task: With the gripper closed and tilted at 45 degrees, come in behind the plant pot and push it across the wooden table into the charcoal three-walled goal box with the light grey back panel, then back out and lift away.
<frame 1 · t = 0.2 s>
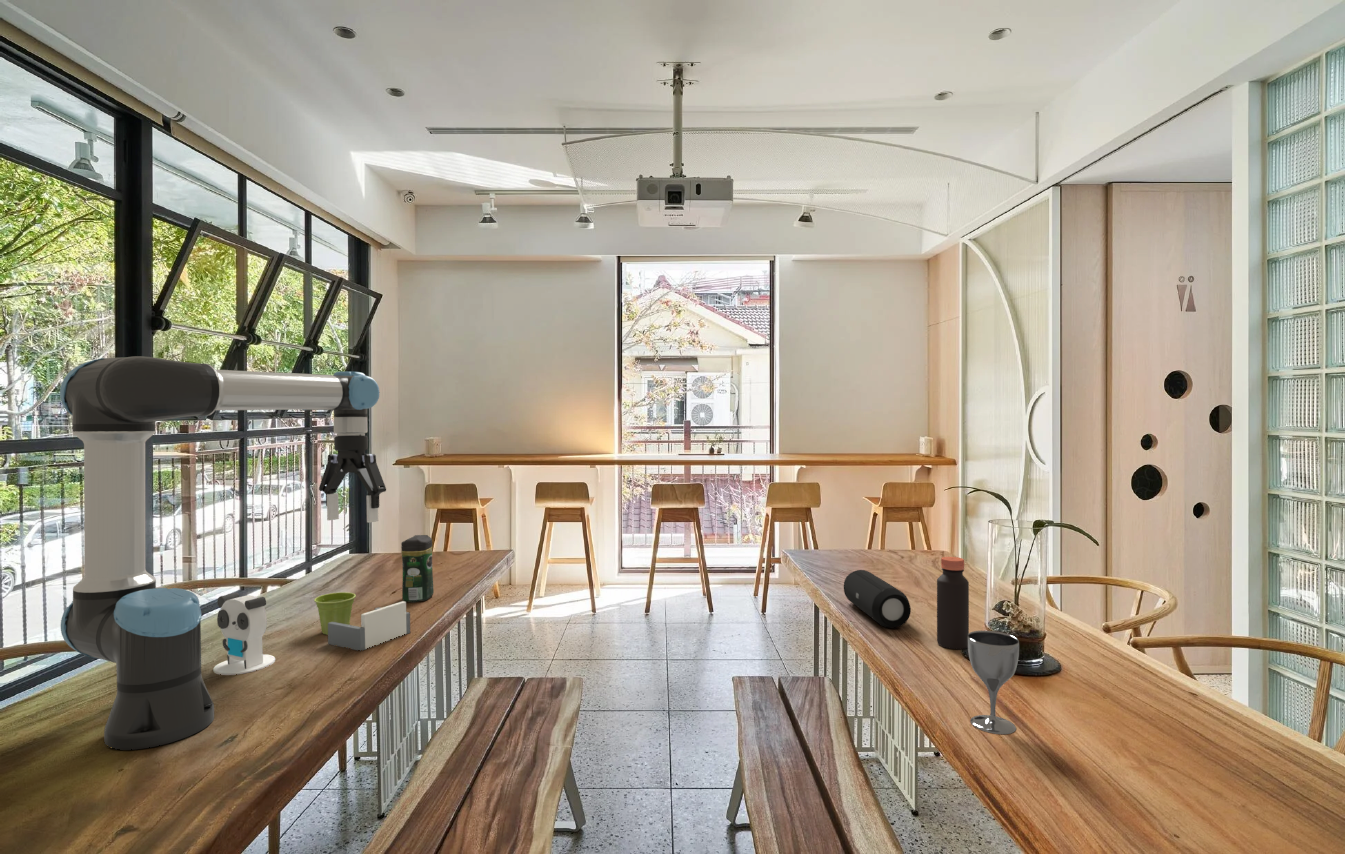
hand: (352, 520, 166), 28 cm above the table, tool pointing down, fingers open, 13 cm apart
panda figurine: (244, 665, 147), on the table
coffee jar: (417, 599, 199), on the table
portable speaker: (875, 616, 179), on the table
goal box: (370, 638, 164), on the table
plant pot: (335, 632, 169), on the table
bottle: (952, 645, 156), on the table
wine glass: (992, 725, 116), on the table
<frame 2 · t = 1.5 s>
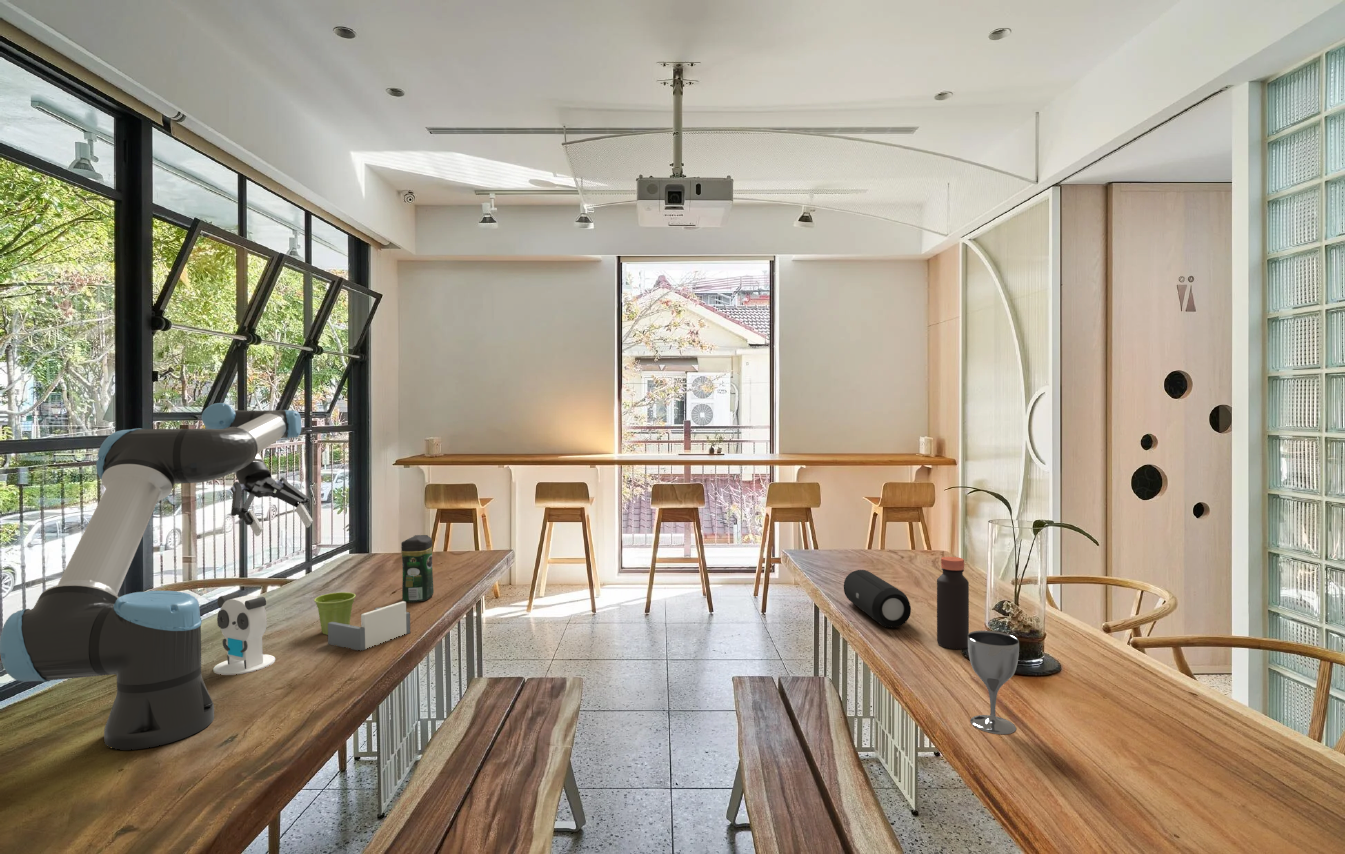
hand: (285, 528, 178), 25 cm above the table, tool tilted 45°, fingers open, 13 cm apart
nothing on the table moved.
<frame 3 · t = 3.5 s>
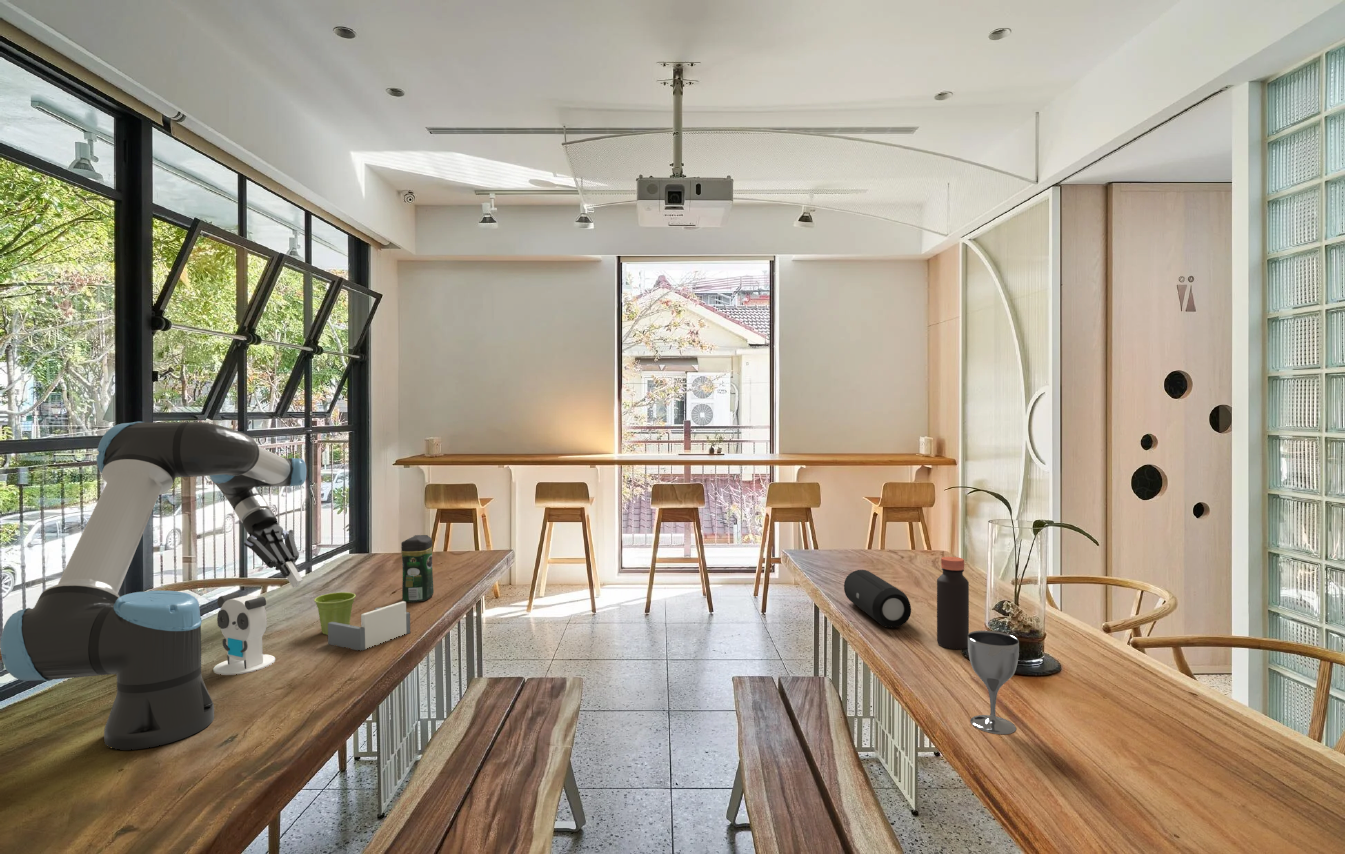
hand: (297, 583, 177), 10 cm above the table, tool tilted 45°, fingers closed
nothing on the table moved.
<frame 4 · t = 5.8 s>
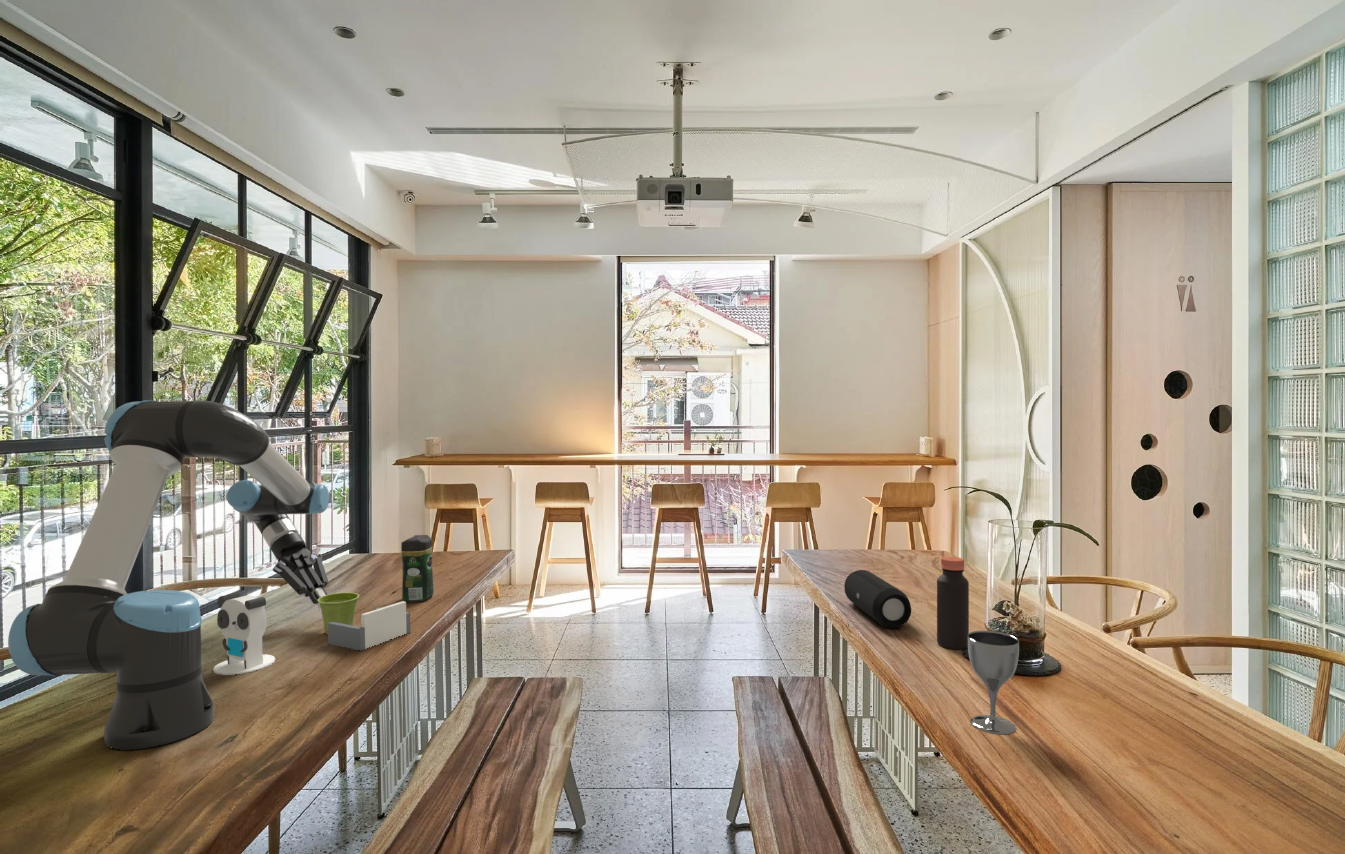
hand: (328, 611, 172), 4 cm above the table, tool tilted 45°, fingers closed
plant pot: (339, 632, 169), on the table, touching gripper
everything else where it was.
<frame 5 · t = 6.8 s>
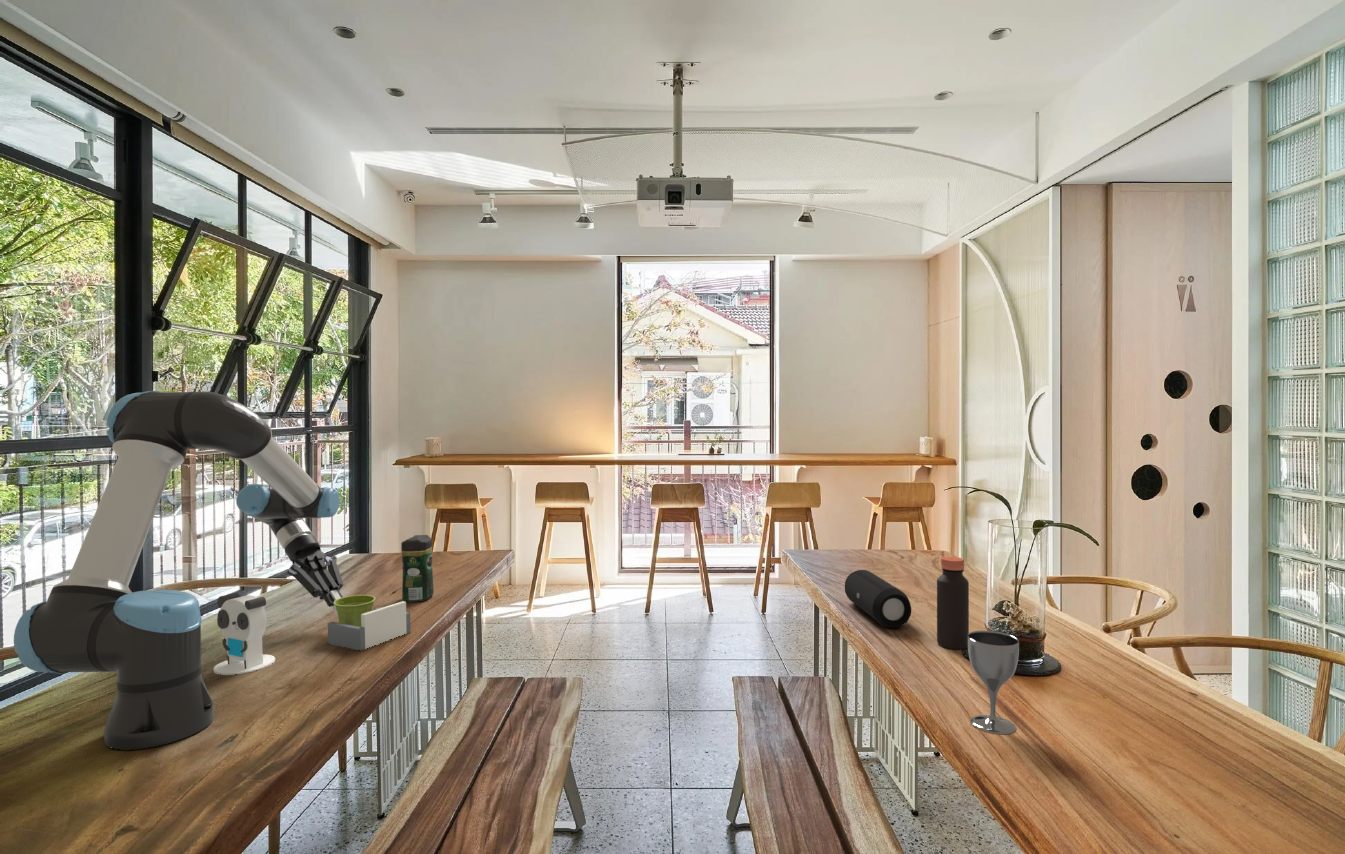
hand: (343, 614, 169), 4 cm above the table, tool tilted 45°, fingers closed
plant pot: (355, 635, 166), on the table, touching gripper
everything else where it was.
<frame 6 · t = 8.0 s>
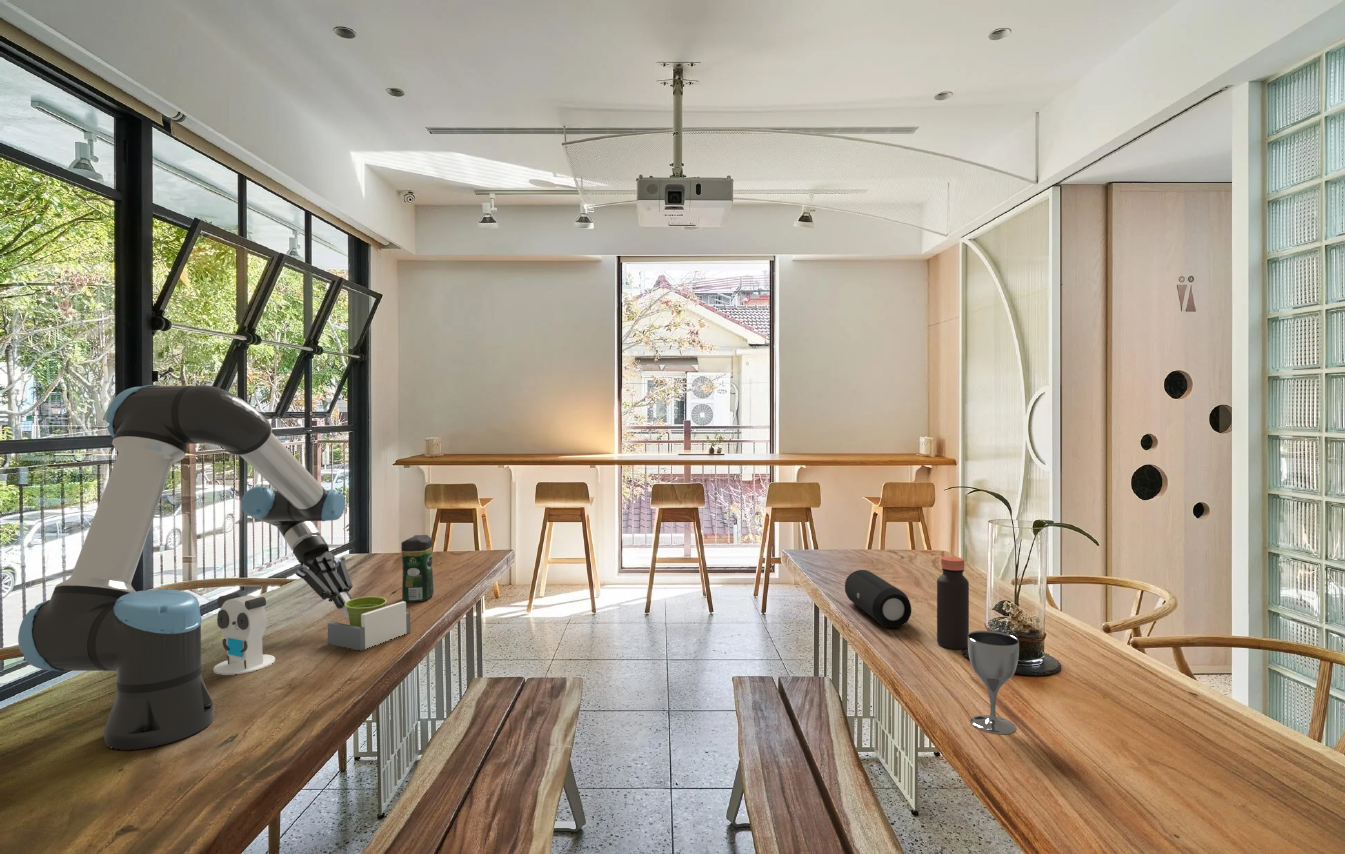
hand: (352, 616, 167), 5 cm above the table, tool tilted 45°, fingers closed
plant pot: (365, 637, 164), on the table, touching gripper
everything else where it was.
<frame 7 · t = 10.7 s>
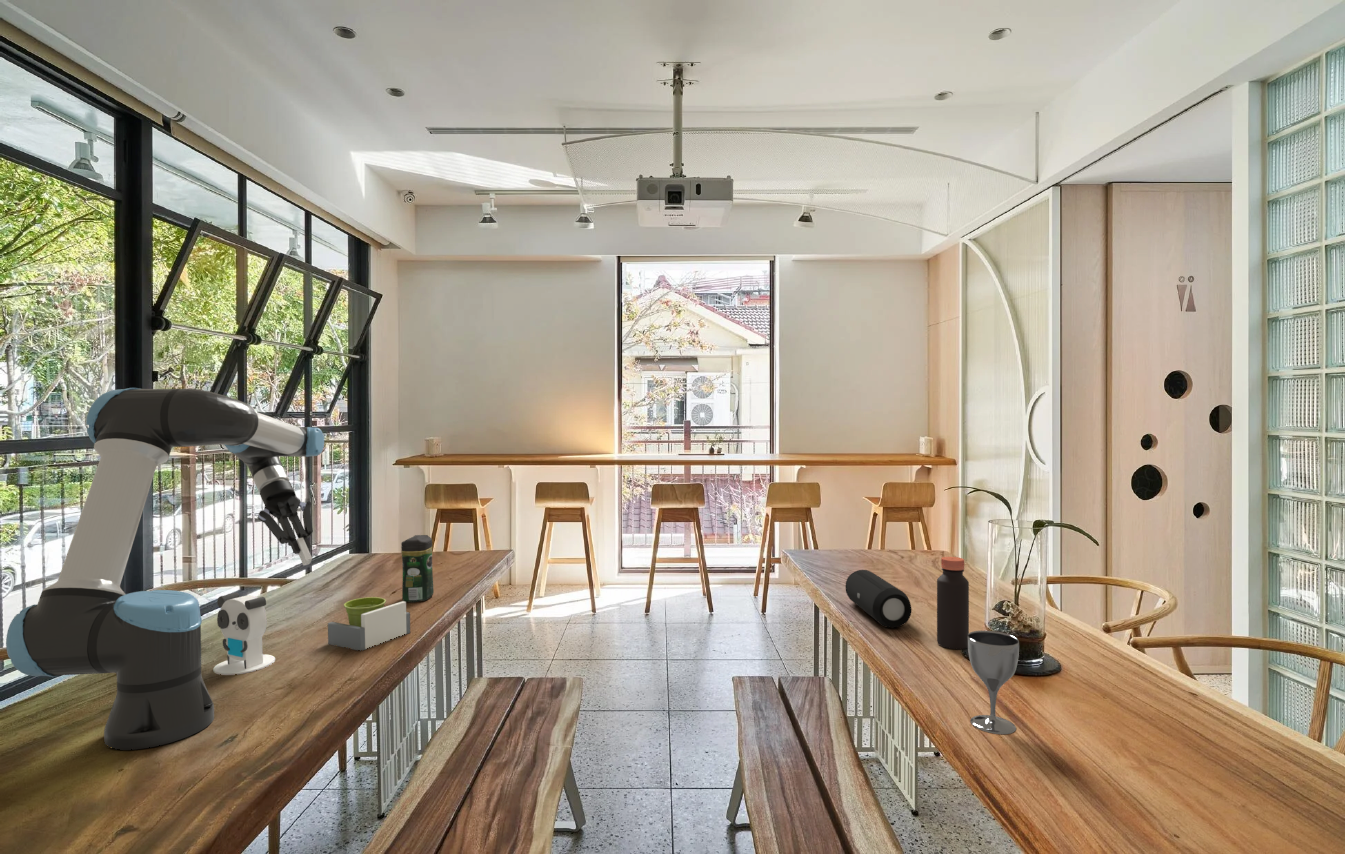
hand: (307, 562, 171), 17 cm above the table, tool tilted 40°, fingers closed
plant pot: (365, 638, 164), on the table
everything else where it was.
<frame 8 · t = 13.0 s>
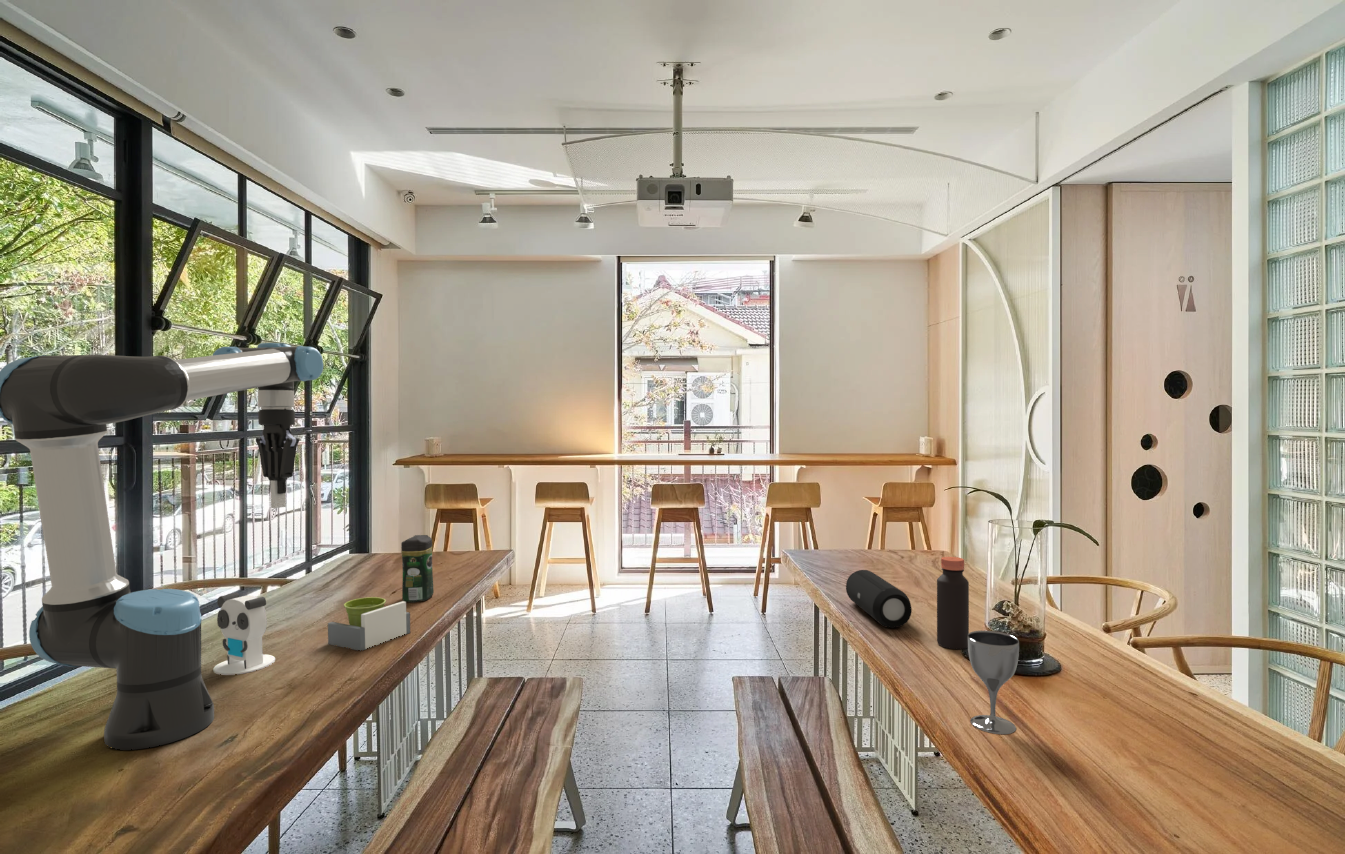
hand: (278, 507, 161), 32 cm above the table, tool pointing down, fingers closed
nothing on the table moved.
at the end: plant pot 1.5 cm off-centre on the goal box, point 0.0 cm above the goal box's base; plant pot tilted 0° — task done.
